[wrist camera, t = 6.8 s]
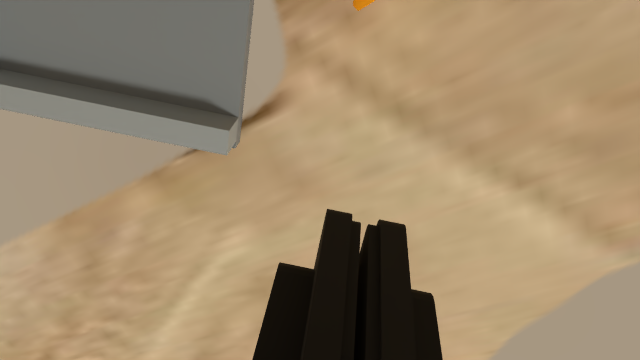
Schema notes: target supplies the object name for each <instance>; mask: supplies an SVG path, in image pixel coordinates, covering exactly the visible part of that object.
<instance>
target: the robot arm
mask: <svg viewBox="0 0 640 360" xmlns="http://www.w3.org/2000/svg"><path fill="white" fill-rule="evenodd" d="M360 231H361V223H360V222H355V221H352V214H350V213H345V212H340V211H335V210H330V209H327V212H326V216H325V220H324V225H323V230H322V234H321V239H320V243H319V248H318V253H317V257H316V262H315V266H314V269H309V268H305V267H300V266H295V265H290V264H285V263H279V265H278V269H277V272H276V276H275V279H274V283H273V287H272V290H271V294H270V298H269V301H268V305H267V309H266V312H265V316H264V319H263V323H262V327H261V330H260V334H259V338H258V341H257V345H256V349H255V352H254V356H253V360H443V359H442V352H441V345H440V338H439V331H438V324H437V317H436V309H435V302H434V298H433V296H432V294H431V293H427V292H422V291H417V290H412V289H411V283H410V271H409V259H408V247H407V236H406V227H405V225H404V224H399V223H394V222H389V221H384V220H379V221H378V223H377V226H375V225H370V224H368V226H367V229H366V232H365V236H364V239H363V243H362V247H361V250H360ZM359 250H360V254H359Z"/></svg>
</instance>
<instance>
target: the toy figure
mask: <svg viewBox="0 0 640 360" xmlns="http://www.w3.org/2000/svg"><path fill="white" fill-rule="evenodd" d="M373 1H375V0H354V1H353V6H354V7H355V8H356V9H357V10H358V11H359V10H361V9H362V8H364V7H366V6H367V5H369V4H370V3H372V2H373Z"/></svg>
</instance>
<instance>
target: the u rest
mask: <svg viewBox="0 0 640 360" xmlns="http://www.w3.org/2000/svg"><path fill="white" fill-rule="evenodd" d="M253 5H254V0H0V109H3V110H8V111H12V112H17V113H22V114H27V115H32V116H37V117H42V118H47V119H52V120H56V121H61V122H67V123H71V124H76V125H81V126H86V127H91V128H95V129H101V130H105V131H110V132H115V133H120V134H125V135H130V136H135V137H139V138H144V139H149V140H154V141H159V142H164V143H169V144H174V145H179V146H184V147H188V148H193V149H198V150H203V151H208V152H213V153H218V154H223V155H228V153H229V151H230V150H231V148H236V147H237V145H238V143H239V142H240V133H241V123H242V113H243V102H244V93H245V84H246V74H247V63H248V54H249V44H250V34H251V25H252V15H253Z"/></svg>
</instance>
